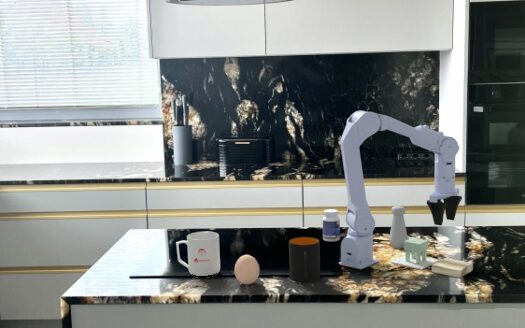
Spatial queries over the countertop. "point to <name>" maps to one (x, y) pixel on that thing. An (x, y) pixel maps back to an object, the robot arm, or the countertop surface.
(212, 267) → the mug
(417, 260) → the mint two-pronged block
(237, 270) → the egg
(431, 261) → the pad
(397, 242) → the salt shaker
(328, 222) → the pill bottle
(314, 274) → the mug
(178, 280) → the countertop surface
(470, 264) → the step
